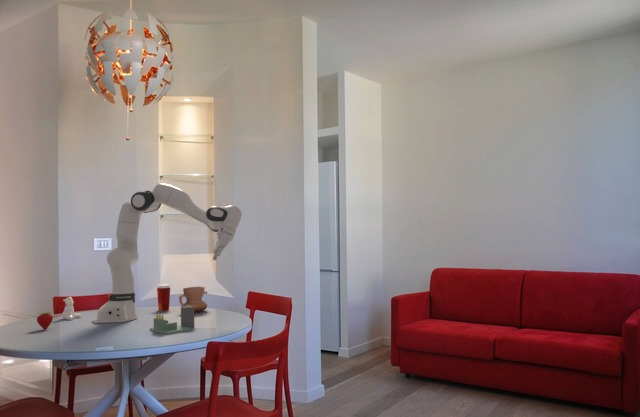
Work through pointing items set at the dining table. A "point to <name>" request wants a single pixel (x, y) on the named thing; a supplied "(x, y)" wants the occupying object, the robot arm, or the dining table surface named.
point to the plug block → (187, 316)
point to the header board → (167, 326)
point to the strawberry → (44, 320)
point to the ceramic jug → (194, 298)
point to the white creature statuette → (69, 310)
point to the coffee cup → (163, 297)
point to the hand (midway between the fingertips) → (215, 257)
